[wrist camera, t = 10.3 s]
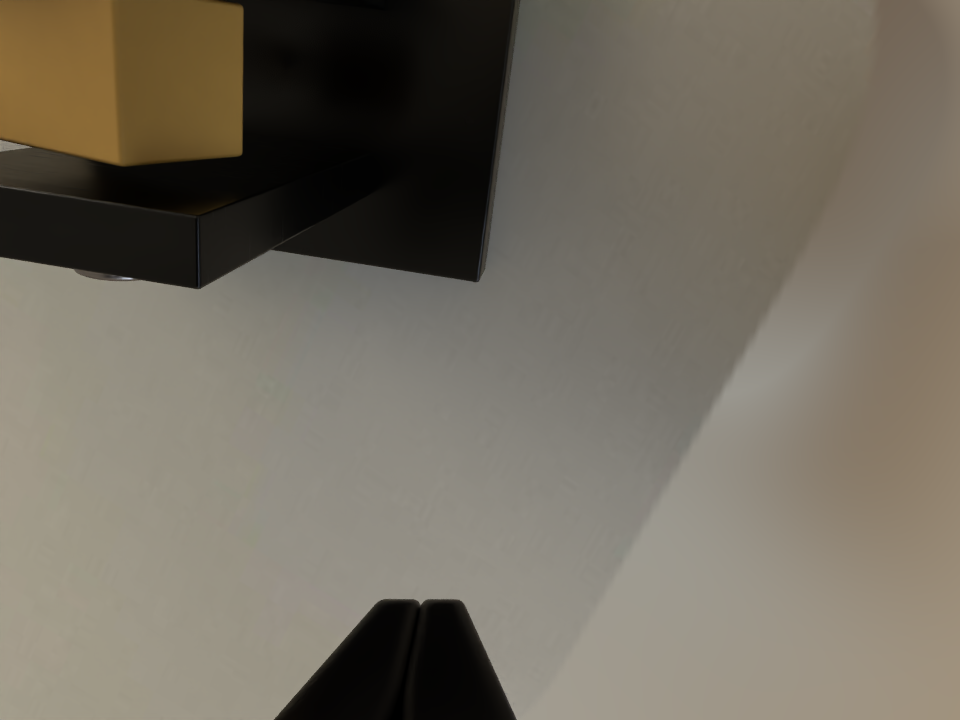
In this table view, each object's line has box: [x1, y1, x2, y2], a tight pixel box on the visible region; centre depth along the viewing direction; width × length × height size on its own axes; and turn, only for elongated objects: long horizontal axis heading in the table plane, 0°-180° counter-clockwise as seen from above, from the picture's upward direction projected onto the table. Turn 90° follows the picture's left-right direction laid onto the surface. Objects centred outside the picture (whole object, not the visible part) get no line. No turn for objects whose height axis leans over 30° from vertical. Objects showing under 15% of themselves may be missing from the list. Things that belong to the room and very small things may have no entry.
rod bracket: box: [0, 0, 520, 289], centre depth 14 cm, size 10×8×10 cm
